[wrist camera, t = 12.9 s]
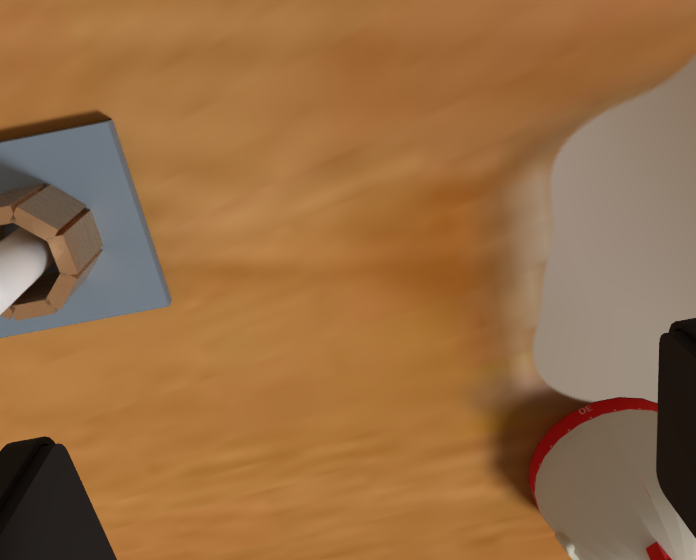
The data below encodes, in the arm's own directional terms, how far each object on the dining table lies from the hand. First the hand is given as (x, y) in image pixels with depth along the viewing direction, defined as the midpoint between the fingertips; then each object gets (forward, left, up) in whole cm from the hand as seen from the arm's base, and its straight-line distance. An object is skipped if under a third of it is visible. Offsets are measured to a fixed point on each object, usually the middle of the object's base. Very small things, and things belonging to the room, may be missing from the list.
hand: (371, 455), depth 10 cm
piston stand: (+20, +4, -33) cm, 39 cm away
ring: (+20, +4, -32) cm, 38 cm away
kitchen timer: (-18, +33, -34) cm, 50 cm away
